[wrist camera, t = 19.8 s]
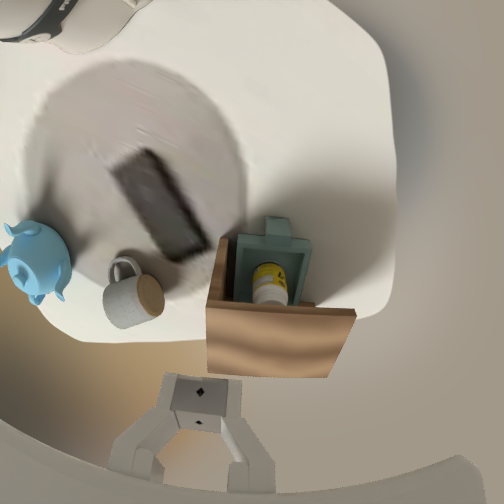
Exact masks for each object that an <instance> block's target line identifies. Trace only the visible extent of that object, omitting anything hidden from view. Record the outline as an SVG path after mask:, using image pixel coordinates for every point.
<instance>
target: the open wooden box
mask: <svg viewBox="0 0 504 504" xmlns="http://www.w3.org/2000/svg"><path fill="white" fill-rule="evenodd" d="M228 241H229V239H225V238H220V241H219V246H218V250H217V255H216V259H215V264H214V269H213V274H212V278H211V283H210V288H209V293H208V298H207V303H206V341H207V367H208V368H207V369H208V373H215V374H227V375H240V376H255V377H279V378H325V377H326V378H327V376H328V374H329V373H330V371H331V369H332V367H333V365H334V363H335V361H336V359H337V357H338V355H339V353H340V351H341V349H342V347H343V345H344V343H345V341H346V339H347V337H348V334H349V332H350V330H351V328H352V326H353V324H354V322H355V319H356V317H357V315H356V312H355V310H354V309H346V308H320V307H315V303H305V302H299V303H298V306H282V305H267V304H253V303H240V302H233V297H226V277H227V258H228Z"/></svg>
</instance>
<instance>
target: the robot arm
mask: <svg viewBox="0 0 504 504" xmlns="http://www.w3.org/2000/svg"><path fill="white" fill-rule="evenodd" d="M151 1H152V0H0V41H2V42H17V43H22V44H28V43H40V42H46V43H49V44H52V45H55V46H57V47H59V48H60V49H61V50H63V51H65V52H67V53H71V54H81V53H86V52H89V51H92V50H95V49H97V48H99V47H100V46H102V45H104V44H105V43H107V42H108V41H109V40H111V39H112V38H113V37H114V36H115V35H116V34H117V33H118V32H119V31H120V30H121V29H122V28H123V27H124V26H125V24H126V23H127V22H128V20H129V19H130V18H131V17H132V15H133V14H134V13H135V12H136V11H138V10H139V9H141V8H142V7H144V6H145V5H147V4H148V3H149V2H151ZM241 395H242V381H241V380H228V379H218V378H207V377H197V376H189V375H181V374H176V373H169V372H166V373H165V374H164V377H163V381H162V385H161V389H160V393H159V397H158V402H157V406H156V407H152V408H151V409H150V410H148V411H147V412H146V413H145V414H144V415H143V416H142V417H141V418H140V419H138V420H137V421H136V422H135V423H134V424H133V425H131V426H130V427H129V428H128V429H127V430H126V431H124V432H123V433H122V434H121V435H120V436H119V437H117V438H116V439H115V440H114V443H113V447H112V451H111V455H110V459H109V463H108V467H107V469H104V468H101V467H99V466H96V465H93V464H90V463H88V462H85V461H82V460H80V459H77V458H75V457H72V456H70V455H67V454H65V453H63V452H60V451H58V450H56V449H54V448H52V447H49V446H47V445H45V444H43V443H41V442H39V441H37V440H35V439H34V438H32V437H30V436H28V435H26V434H24V433H22V432H21V431H19V430H17V429H15V428H14V427H12V426H10V425H8V424H7V423H5V422H4V421H2V420H1V419H0V504H486V497H485V491H484V485H483V479H482V476H481V473H480V470H479V469H478V468H477V467H476V466H475V465H474V464H473V463H471V462H470V461H469V460H467V459H466V458H465V457H463V456H461V455H456V456H453V457H450V458H448V459H445V460H443V461H440V462H437V463H435V464H432V465H429V466H426V467H423V468H420V469H417V470H414V471H411V472H408V473H404V474H401V475H398V476H394V477H390V478H386V479H383V480H378V481H374V482H369V483H364V484H359V485H354V486H348V487H342V488H335V489H328V490H320V491H310V492H299V493H298V492H297V493H276V490H275V488H276V487H275V462H274V460H273V459H272V458H271V456H270V455H269V453H268V452H267V451H266V449H265V448H264V447H263V445H262V443H261V442H260V441H259V439H258V438H257V437H256V435H255V434H254V432H253V430H252V429H251V428H250V426H249V424H248V423H247V421H246V420H245V419H244V418H241ZM179 428H182V429H189V430H198V431H206V432H213V433H221V435H222V437H223V439H224V440H225V442H226V444H227V446H228V447H229V449H230V451H231V453H232V454H233V456H234V458H235V460H236V461H237V462H232V463H231V464H230V465H229V473H228V484H227V492H217V491H216V492H215V491H207V490H198V489H191V488H184V487H178V486H172V485H167V484H163V477H164V470H165V468H164V467H163V466H162V464H161V463H160V461H159V460H158V459H157V458H156V455H157V454H158V453H159V452H160V451H161V450H162V449H163V447H164V446H165V445H166V444H167V443H168V442H169V441H170V440H171V439H172V438H173V437H174V435H175V434H176V433H177V432H178V431H179V430H180V429H179Z"/></svg>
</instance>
